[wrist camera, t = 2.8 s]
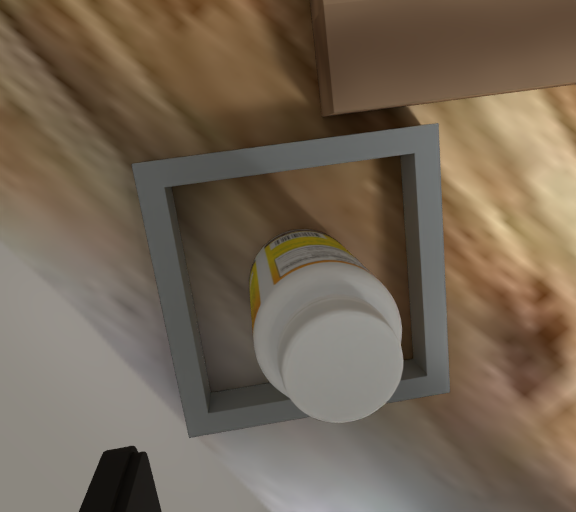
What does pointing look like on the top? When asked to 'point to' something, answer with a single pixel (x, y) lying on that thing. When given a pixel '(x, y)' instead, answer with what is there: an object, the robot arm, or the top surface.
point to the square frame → (282, 157)
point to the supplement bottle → (324, 327)
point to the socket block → (438, 50)
